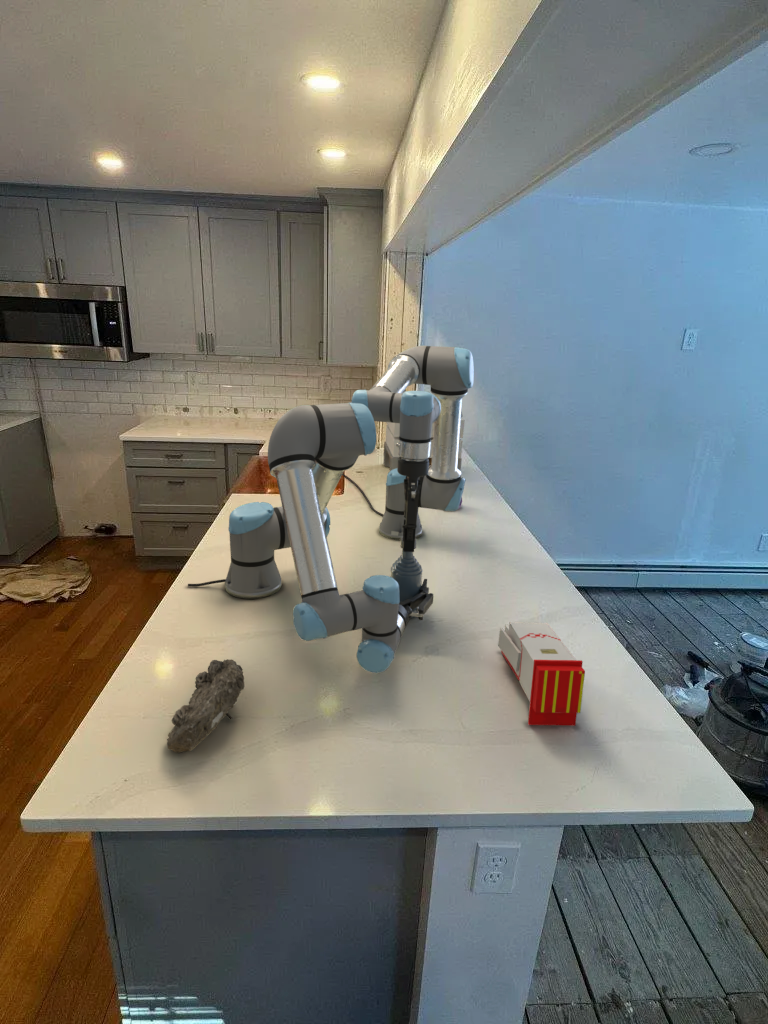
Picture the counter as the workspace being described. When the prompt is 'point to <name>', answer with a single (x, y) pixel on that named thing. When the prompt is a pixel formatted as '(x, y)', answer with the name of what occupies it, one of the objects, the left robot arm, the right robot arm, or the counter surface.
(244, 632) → the counter surface
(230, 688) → the fossil
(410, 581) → the bottle
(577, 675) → the toy
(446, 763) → the counter surface
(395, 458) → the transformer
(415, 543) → the cap
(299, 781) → the counter surface
